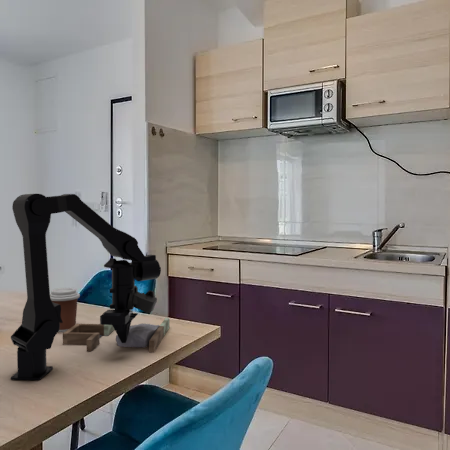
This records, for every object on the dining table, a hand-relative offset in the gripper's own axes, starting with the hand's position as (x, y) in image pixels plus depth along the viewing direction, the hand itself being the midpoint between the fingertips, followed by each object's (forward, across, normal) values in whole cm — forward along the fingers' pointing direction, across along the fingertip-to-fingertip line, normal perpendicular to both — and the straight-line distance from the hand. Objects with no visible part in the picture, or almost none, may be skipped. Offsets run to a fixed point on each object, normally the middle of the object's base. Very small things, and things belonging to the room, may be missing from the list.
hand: (123, 342), depth 107 cm
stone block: (+2, +7, -2) cm, 7 cm away
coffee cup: (+2, +16, +23) cm, 28 cm away
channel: (+1, +8, +4) cm, 9 cm away
